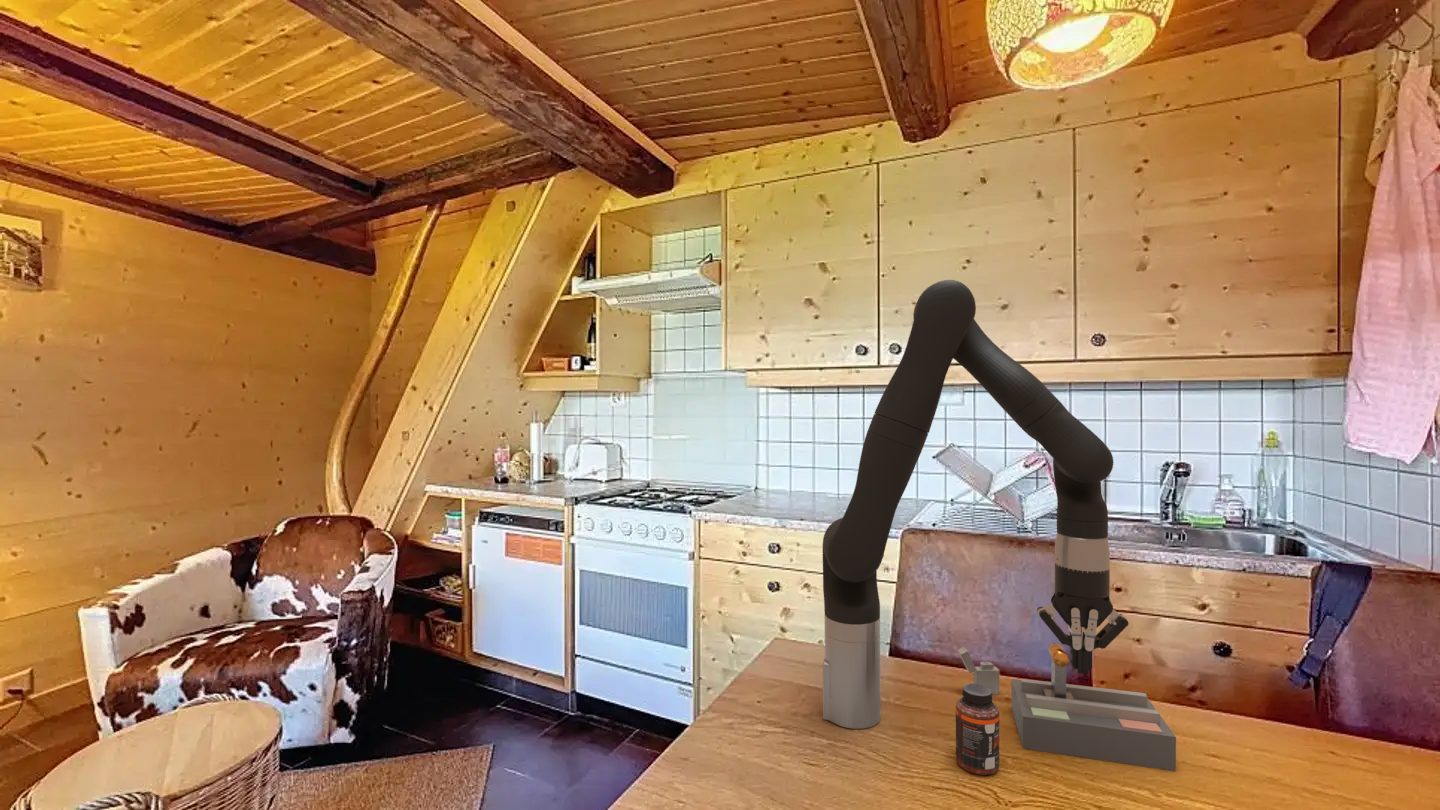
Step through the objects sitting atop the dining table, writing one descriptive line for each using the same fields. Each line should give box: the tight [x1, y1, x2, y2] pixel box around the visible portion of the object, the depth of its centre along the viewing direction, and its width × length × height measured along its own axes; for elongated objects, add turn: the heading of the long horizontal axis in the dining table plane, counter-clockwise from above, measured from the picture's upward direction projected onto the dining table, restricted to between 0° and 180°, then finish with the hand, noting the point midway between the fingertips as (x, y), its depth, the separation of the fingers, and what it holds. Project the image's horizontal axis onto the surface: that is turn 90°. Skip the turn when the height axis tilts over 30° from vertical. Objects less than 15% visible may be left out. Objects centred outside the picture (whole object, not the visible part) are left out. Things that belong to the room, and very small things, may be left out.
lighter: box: [957, 646, 1000, 695], centre depth 115 cm, size 7×2×8 cm, turn 89°
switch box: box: [1010, 678, 1177, 772], centre depth 99 cm, size 20×13×7 cm, turn 72°
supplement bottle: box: [955, 682, 1000, 776], centre depth 92 cm, size 6×6×11 cm
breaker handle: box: [1043, 642, 1074, 700], centre depth 101 cm, size 4×4×8 cm
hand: (1081, 671), depth 99 cm, fingers closed
